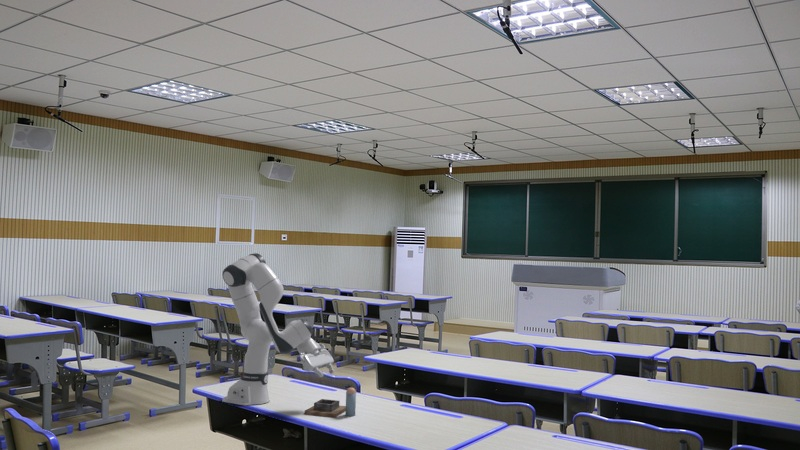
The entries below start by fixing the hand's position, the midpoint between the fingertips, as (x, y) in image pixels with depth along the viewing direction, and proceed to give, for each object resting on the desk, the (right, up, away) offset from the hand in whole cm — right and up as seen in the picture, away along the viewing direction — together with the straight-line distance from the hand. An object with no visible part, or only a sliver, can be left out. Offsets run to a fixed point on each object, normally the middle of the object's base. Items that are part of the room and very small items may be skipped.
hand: (327, 374), depth 283 cm
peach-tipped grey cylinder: (+11, -17, -6) cm, 21 cm away
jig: (0, -17, -1) cm, 17 cm away
